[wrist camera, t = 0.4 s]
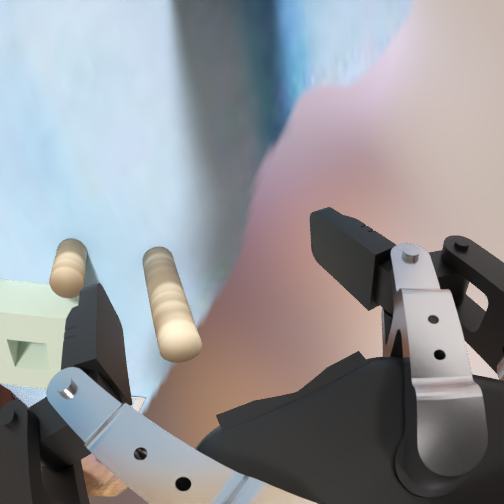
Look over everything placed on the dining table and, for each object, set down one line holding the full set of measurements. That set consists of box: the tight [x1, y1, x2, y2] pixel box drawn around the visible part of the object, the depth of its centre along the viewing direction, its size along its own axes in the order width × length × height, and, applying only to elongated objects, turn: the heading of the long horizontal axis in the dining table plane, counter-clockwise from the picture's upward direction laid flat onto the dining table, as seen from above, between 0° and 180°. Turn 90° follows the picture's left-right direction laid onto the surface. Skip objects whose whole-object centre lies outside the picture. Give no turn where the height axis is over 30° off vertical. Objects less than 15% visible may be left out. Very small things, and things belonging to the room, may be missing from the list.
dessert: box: [131, 396, 146, 412], centre depth 39 cm, size 12×12×5 cm
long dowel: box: [143, 247, 202, 363], centre depth 26 cm, size 3×3×12 cm
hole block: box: [0, 279, 79, 389], centre depth 27 cm, size 12×12×5 cm
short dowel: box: [49, 239, 87, 298], centre depth 25 cm, size 3×3×5 cm
